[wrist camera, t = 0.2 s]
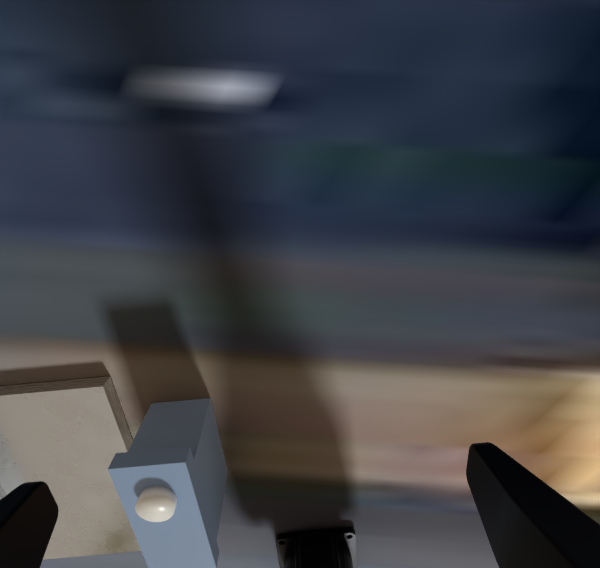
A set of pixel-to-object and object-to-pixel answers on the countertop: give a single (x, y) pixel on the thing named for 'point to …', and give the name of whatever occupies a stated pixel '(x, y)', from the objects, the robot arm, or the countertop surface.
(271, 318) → the countertop surface
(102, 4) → the countertop surface
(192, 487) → the block
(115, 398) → the chassis plate
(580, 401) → the countertop surface
